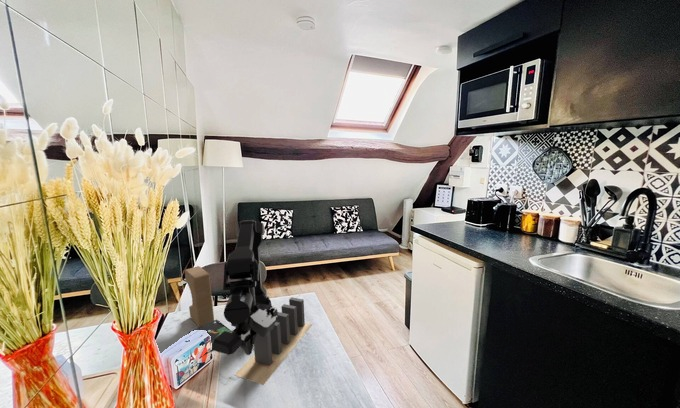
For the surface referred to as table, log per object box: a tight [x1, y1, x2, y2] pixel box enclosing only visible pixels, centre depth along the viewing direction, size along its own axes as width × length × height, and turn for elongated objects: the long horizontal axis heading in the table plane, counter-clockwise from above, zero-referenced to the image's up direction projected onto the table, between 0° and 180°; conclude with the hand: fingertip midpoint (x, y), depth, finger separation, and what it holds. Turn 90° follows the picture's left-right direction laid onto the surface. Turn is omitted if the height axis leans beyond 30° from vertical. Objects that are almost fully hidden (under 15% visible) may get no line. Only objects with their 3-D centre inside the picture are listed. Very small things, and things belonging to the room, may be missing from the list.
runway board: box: [234, 322, 313, 386], centre depth 90 cm, size 10×29×1 cm, turn 158°
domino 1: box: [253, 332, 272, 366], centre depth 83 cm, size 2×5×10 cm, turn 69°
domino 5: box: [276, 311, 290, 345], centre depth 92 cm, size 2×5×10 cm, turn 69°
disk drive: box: [188, 319, 233, 351], centre depth 97 cm, size 10×3×15 cm
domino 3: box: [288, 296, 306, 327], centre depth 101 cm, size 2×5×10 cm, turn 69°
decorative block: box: [184, 265, 215, 329], centre depth 107 cm, size 11×6×20 cm, turn 43°
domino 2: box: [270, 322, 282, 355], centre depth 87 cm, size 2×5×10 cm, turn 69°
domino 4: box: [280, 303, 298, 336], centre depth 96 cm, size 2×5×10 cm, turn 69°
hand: (248, 354), depth 77 cm, fingers closed
